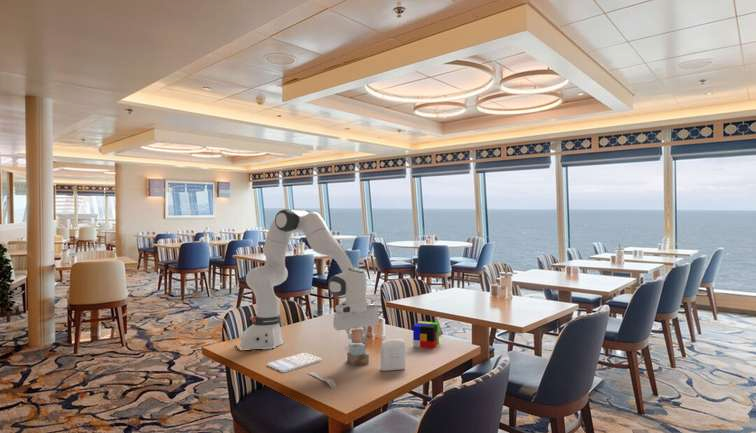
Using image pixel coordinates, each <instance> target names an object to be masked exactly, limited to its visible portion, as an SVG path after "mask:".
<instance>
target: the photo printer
mask: <svg viewBox="0 0 756 433" xmlns="http://www.w3.org/2000/svg"><path fill="white" fill-rule="evenodd" d="M405 369H406V345H405V340H403V339H401V338H388V339H385V340H383V341H381V342H380V370H381V371H382V372H385V371H386V372H387V371H398V370H399V371H400V370H405Z"/></svg>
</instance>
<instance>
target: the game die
mask: <svg viewBox="0 0 756 433" xmlns="http://www.w3.org/2000/svg"><path fill="white" fill-rule="evenodd" d="M354 329H357V328H354ZM361 329H362V332H363V330H364V328H361ZM369 337H370V335H368V334H367V332H366V337H362V343H363V344H365V345H366V342H367V339H369Z"/></svg>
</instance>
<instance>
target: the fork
mask: <svg viewBox="0 0 756 433" xmlns="http://www.w3.org/2000/svg"><path fill="white" fill-rule="evenodd" d="M307 374H308V375H310V376H313V377H314V378H317V379H318V380H320V381H322V382H326V383H327V384H328V385H329V386H330V388H331V389H332V390H334V389H338V386H337V385H336V382H334V381H335V380H333V379H332V378H327V379H324V378H322V377H321V376H319V375H318V374H317V373H316V372H314V371H313V372H308V373H307Z"/></svg>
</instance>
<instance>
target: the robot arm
mask: <svg viewBox="0 0 756 433" xmlns="http://www.w3.org/2000/svg"><path fill="white" fill-rule="evenodd" d="M293 233H303V234H304V235H305V238H306V240H307V243H308V245H309V246H310V248H311V249H312V251H313V252H315V253H317V254H320V255H324V256H328V257H330V258H331V259H333V260H334V261H335V262H336V264H337V265H338V266H339V269H340V270H341V272H339V273H338V274H335V275H333V276H331V277H330V278H329V280H328V283H327V286H328V287H327V288H328V291H329V293H330V294H331V296H333V297H338V298H339V297H345V298H346V300H345V301H343V302H341V303H339V304H337V305H335V310H336V312H335V313H334V315H333V321H332V322H333V323H332V325H333V326H332V327H333V329H335V330H336V331H345V333H346V334H347V339H348V340H352V339H353V335H352V334H351V333H350V332H351V330H352V329H355V328H356V329H364V330H363V332H362V337H366V333H367V331H368V329H369V327H374V326H379V324H380V317H379V306H378V305H377V304H375V303H372V304H371V303H369V304H367V303H368V297H367V294H366V292H367V288H368V287H367V286H368V284H367V274H366V272H365V270H364V269H363V268H361V267H356V266H355V264H354V263H353V261H352V260H351V258H350V255H348V253H347V251H346V250H345V249H344V247H343V246H342V245H341V244H340V243H339V242H338V241H337V240H336V238H335V237H334V235H333V234H332V232H331V231H330V229H329V227H328V224H327V223H326V221H325V220H324V218H323V216H321V214H320V213H319V212H317V211H316V212H315V211H309V210H304V209H299V208H298V209H297V208H296V209H289V208H286V209H285V208H284V209H281V210H279V211H278V212H277V213H276V214H275V218H274V219H273V221H272V222H271V224H270V226H269V229H268V231H267V235H266V238H265V242H264V244H263V248H262V254H263V256H265V263H264V265H260V266H256V267H254V268H252V269H250V270H248V272H247V273H246V276H245V281H246V284H247V286H248V288H250V289H251V290H252V292H253V295H254V297H255V303H256V304H255V306H256V315H255V316H254V315H251V316H250V318H249V319H250V320H251V322H252V324H251V325H250V326H248V327H247V328H246V329H245V330H243V332H242V333H241V335H240V341H239V342H240V347H242V350H244V349H263V350H272V348H274V349H276V348H277V347H279V346H281V345H282V344H284V340H283V336H282V332H281V324H282V318H281V317H282V316H281V314H280V298H279V297H278V296H277V295H276V293H275V291H274V287H276V286H280V285H281V284H283V283H284V282H285V281H287V278H288V277H289V272H288V269H287V267H286V255H287V254H286V253H287V252H288V247H289V243H290V239H291V236H292V234H293ZM276 346H277V347H276ZM238 347H239V346H238ZM240 347H239V349H240ZM275 347H276V348H275Z"/></svg>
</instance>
